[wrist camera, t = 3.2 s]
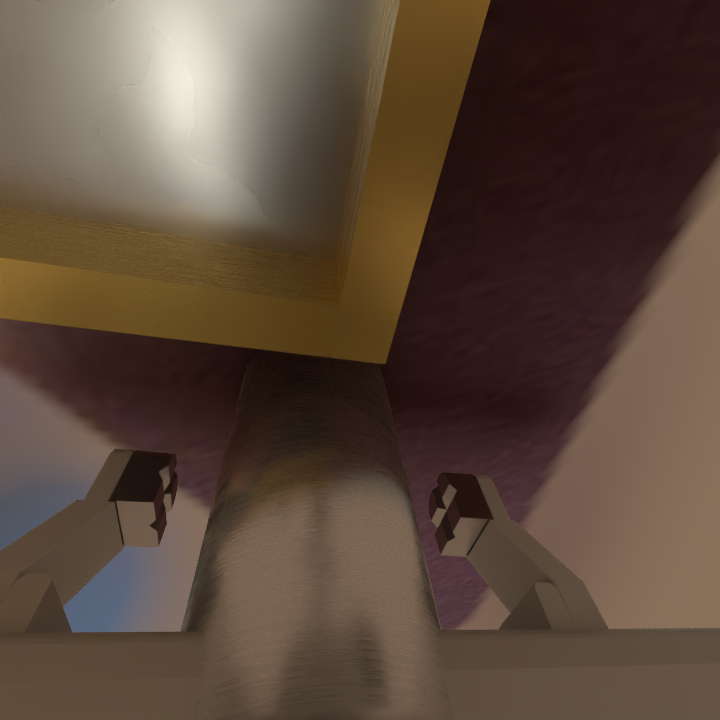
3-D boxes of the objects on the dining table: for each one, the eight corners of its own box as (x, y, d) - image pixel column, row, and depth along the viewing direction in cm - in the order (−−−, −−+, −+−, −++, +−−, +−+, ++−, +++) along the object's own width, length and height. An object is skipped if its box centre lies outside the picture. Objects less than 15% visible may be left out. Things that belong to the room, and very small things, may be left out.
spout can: (246, 320, 13) (109, 784, 4) (399, 340, 14) (533, 753, 5) (237, 472, 17) (156, 874, 8) (357, 479, 18) (396, 847, 9)
